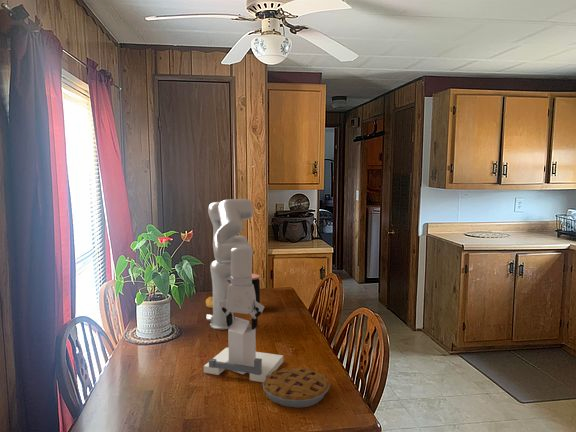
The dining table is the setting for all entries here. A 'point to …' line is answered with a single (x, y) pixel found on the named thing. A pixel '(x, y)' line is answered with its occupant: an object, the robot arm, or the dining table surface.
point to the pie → (296, 387)
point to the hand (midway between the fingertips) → (241, 326)
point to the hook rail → (238, 366)
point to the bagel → (209, 302)
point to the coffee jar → (256, 287)
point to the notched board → (268, 366)
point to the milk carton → (242, 343)
